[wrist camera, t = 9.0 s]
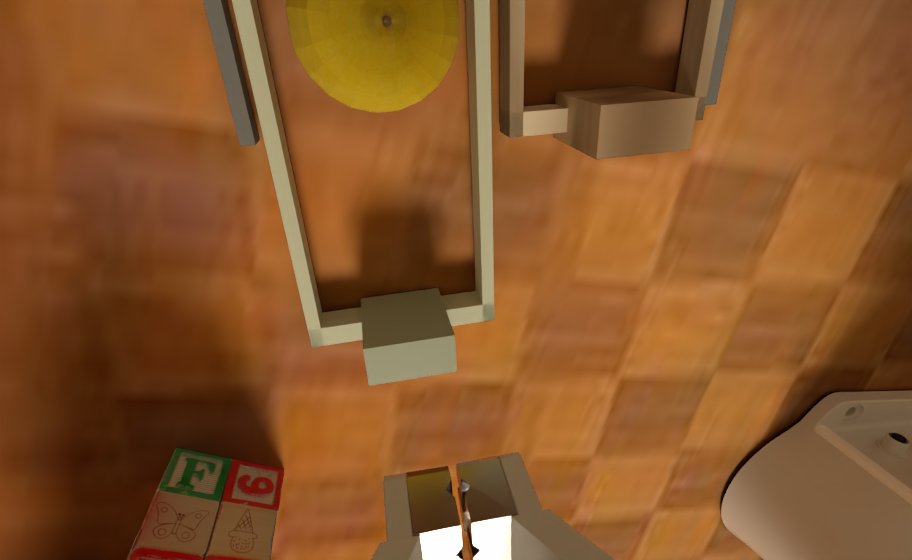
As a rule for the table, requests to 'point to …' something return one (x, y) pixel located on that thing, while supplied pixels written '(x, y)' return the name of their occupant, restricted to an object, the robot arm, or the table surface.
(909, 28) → the table surface
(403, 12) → the fruit
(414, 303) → the frame
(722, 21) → the lane guides
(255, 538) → the stack of blocks
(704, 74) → the frame
